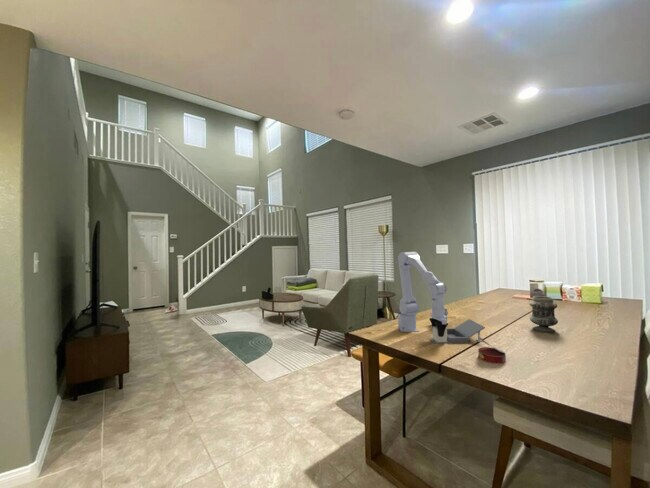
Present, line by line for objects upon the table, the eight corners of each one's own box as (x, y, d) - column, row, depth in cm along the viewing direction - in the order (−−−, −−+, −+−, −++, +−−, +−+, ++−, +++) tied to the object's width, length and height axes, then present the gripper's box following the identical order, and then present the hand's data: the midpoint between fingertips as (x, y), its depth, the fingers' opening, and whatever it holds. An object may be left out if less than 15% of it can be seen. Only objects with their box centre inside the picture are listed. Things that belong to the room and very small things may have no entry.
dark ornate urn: (547, 326, 155) (547, 294, 155) (564, 333, 143) (563, 299, 143) (524, 326, 157) (524, 295, 156) (539, 333, 145) (538, 299, 144)
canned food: (481, 364, 121) (480, 341, 125) (508, 368, 115) (506, 343, 119) (474, 360, 114) (474, 335, 118) (503, 363, 107) (501, 337, 112)
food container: (452, 329, 155) (452, 311, 155) (441, 329, 155) (441, 311, 155) (443, 322, 167) (443, 306, 167) (433, 323, 168) (432, 306, 167)
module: (436, 342, 135) (436, 329, 135) (432, 338, 140) (432, 326, 140) (446, 342, 135) (447, 329, 135) (442, 338, 140) (442, 326, 140)
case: (450, 343, 134) (450, 328, 134) (438, 333, 148) (437, 319, 148) (485, 342, 134) (485, 327, 134) (469, 332, 149) (469, 319, 149)
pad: (434, 344, 134) (434, 343, 134) (428, 339, 141) (428, 338, 141) (449, 343, 134) (448, 343, 134) (442, 338, 141) (442, 338, 141)
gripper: (452, 310, 130) (453, 339, 130) (439, 303, 144) (440, 329, 144) (438, 311, 130) (438, 339, 130) (426, 304, 144) (426, 330, 144)
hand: (438, 334), depth 137 cm, fingers closed on module, 5 cm apart
